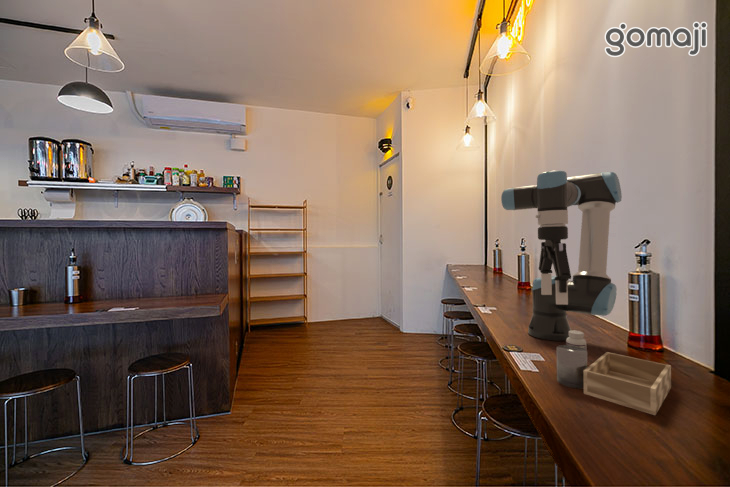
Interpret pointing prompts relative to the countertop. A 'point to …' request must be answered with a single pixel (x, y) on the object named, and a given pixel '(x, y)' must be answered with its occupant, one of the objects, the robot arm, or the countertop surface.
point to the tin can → (571, 366)
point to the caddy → (628, 381)
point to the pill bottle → (576, 339)
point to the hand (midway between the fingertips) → (553, 299)
